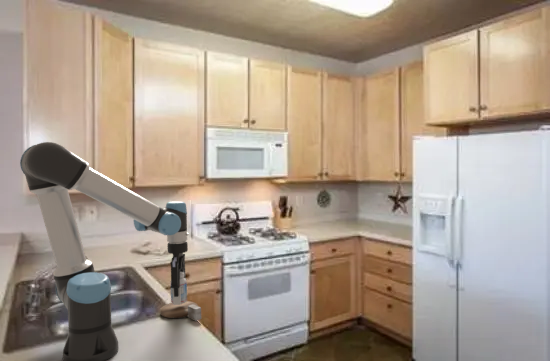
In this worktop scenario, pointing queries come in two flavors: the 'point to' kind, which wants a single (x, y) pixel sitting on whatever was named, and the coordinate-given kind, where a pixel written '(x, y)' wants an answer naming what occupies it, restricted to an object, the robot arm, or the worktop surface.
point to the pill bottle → (183, 289)
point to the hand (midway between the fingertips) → (179, 301)
